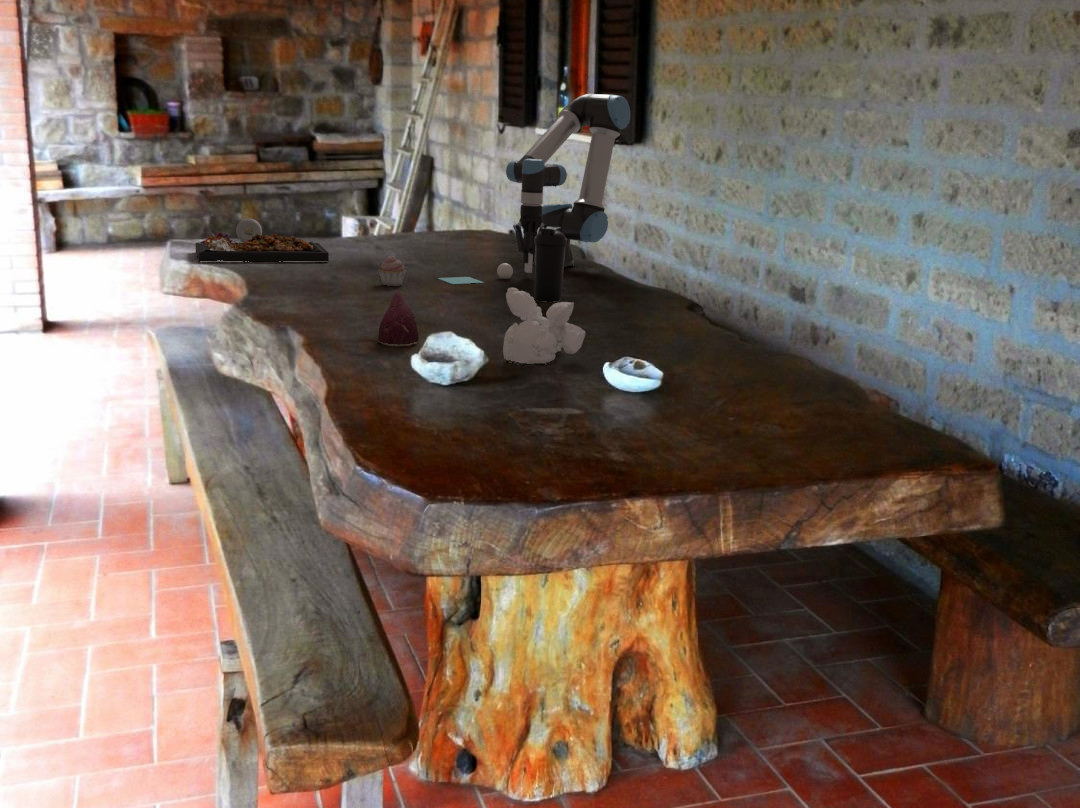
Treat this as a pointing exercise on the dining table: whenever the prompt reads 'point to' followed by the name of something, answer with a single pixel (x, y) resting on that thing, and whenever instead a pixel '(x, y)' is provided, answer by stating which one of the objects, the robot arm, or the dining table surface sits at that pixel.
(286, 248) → the food platter
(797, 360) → the dining table surface
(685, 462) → the dining table surface
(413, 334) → the vegetable
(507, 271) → the ball
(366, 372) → the dining table surface
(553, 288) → the water bottle
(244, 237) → the donut
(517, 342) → the grey lumpy lobed block
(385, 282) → the cupcake
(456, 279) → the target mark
